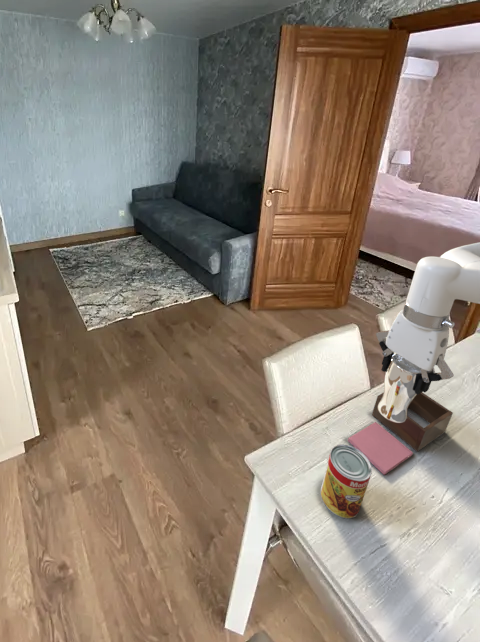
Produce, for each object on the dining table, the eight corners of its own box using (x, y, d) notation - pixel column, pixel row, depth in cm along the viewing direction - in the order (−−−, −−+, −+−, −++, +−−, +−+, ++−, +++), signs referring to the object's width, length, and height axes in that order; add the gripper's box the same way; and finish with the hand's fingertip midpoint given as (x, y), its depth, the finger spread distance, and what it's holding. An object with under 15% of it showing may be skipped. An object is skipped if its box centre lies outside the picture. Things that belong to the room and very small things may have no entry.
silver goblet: (377, 396, 87) (392, 348, 82) (409, 409, 84) (427, 360, 78) (373, 415, 82) (388, 365, 76) (407, 430, 78) (426, 378, 73)
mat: (374, 424, 93) (375, 421, 93) (412, 455, 85) (413, 452, 85) (347, 440, 89) (348, 438, 88) (384, 475, 81) (385, 472, 80)
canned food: (352, 527, 71) (365, 489, 66) (314, 499, 75) (324, 462, 71) (364, 497, 76) (376, 460, 71) (328, 473, 81) (337, 437, 76)
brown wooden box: (398, 399, 102) (405, 380, 99) (444, 432, 91) (453, 412, 89) (371, 414, 96) (377, 395, 94) (417, 451, 86) (425, 431, 84)
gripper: (482, 332, 67) (453, 401, 73) (394, 291, 81) (377, 352, 88) (462, 343, 64) (433, 414, 70) (374, 299, 78) (358, 361, 85)
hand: (402, 379), depth 79 cm, fingers closed on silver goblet, 7 cm apart
